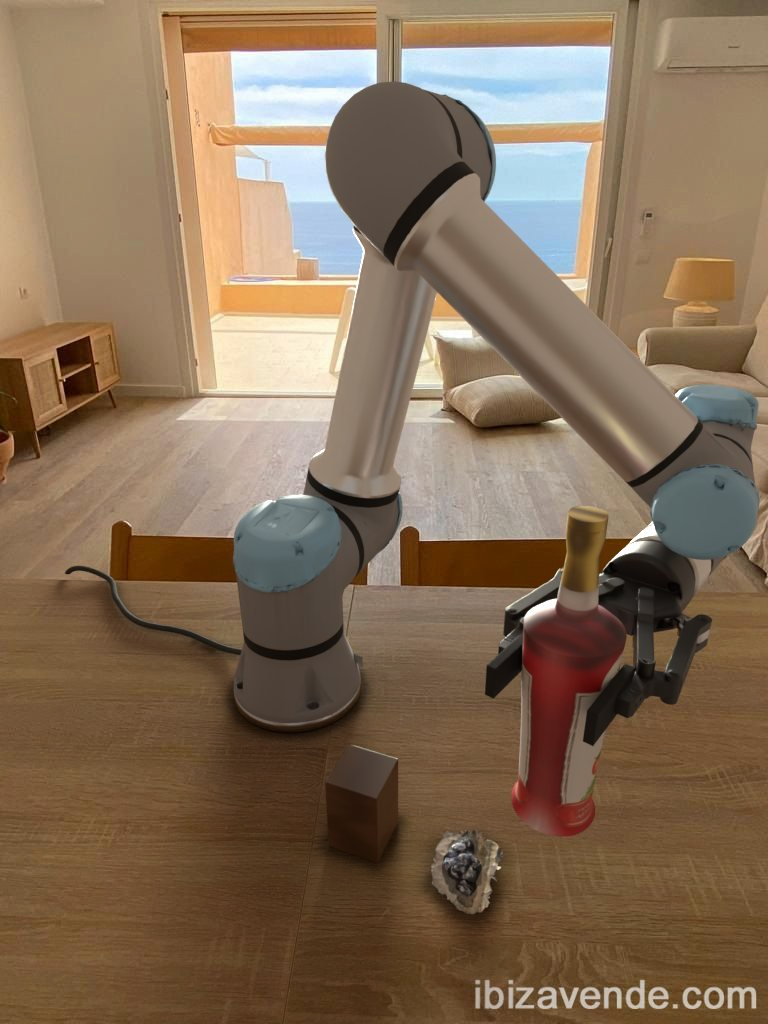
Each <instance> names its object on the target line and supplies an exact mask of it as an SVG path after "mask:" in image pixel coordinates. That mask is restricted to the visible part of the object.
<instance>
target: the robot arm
mask: <svg viewBox="0 0 768 1024" xmlns="http://www.w3.org/2000/svg"><path fill="white" fill-rule="evenodd" d="M496 156H497V154H496V149H495V145H494V141H493V138H492V135H491V133H490V131H489V129H488V127H487V126H486V124H485V122H484V121H483V120H482V118H480V116H479V115H478V114H477V113H476V112H474V111H473V110H472V109H471V108H470V106H468V105H467V104H465V103H464V102H463V101H461V100H460V99H456V98H454V97H451V96H449V95H447V94H445V93H444V94H440V93H437V92H433V91H431V90H428V89H424V88H421V87H419V86H417V85H414V84H412V83H408V82H402V81H397V80H393V81H382V82H377V83H374V84H373V83H372V84H371V85H368V86H366V87H364V88H362V89H361V90H359V91H357V92H356V93H353V95H351V97H350V98H349V99H347V100H346V101H345V103H344V104H343V105H342V106H341V107H340V109H339V110H338V112H337V113H336V115H335V116H334V119H333V121H332V122H331V125H330V128H329V130H328V133H327V137H326V142H325V149H324V169H325V174H326V177H327V178H326V179H327V183H328V187H329V189H330V192H331V193H332V196H333V198H334V199H335V202H336V204H337V206H338V207H339V208H340V209H341V211H342V212H343V214H344V215H345V216H346V217H347V218H348V220H349V221H350V223H352V225H353V226H352V232H353V234H354V236H355V238H356V239H357V241H358V243H359V244H360V246H361V248H362V251H363V252H362V256H361V257H362V258H361V263H360V268H359V272H358V278H357V283H356V288H355V294H354V298H353V302H352V303H353V304H352V308H351V314H350V319H349V324H348V327H347V328H348V329H347V334H346V339H345V343H344V344H345V345H344V349H343V353H342V354H343V355H342V359H341V365H340V370H339V375H338V379H337V385H336V390H335V395H334V400H333V405H332V410H331V416H330V420H329V426H328V432H327V437H326V442H325V447H324V449H323V450H321V451H319V452H317V453H315V454H314V455H313V456H312V457H311V458H310V460H309V463H308V468H307V473H306V477H305V482H304V483H305V484H304V488H303V493H302V494H290V495H283V496H278V497H277V498H276V500H270V499H268V500H266V501H263V502H261V503H259V504H257V505H255V506H254V507H252V508H250V510H248V511H247V512H246V513H244V515H243V516H242V517H241V518H240V520H239V521H238V523H237V525H236V526H235V529H234V533H233V556H232V562H233V567H234V572H235V578H236V583H237V591H238V600H239V601H238V602H239V609H240V610H239V611H240V617H241V626H242V627H241V628H242V634H243V635H242V636H243V642H242V643H243V644H242V647H241V648H239V647H236V646H235V647H234V646H230V645H226V644H223V643H220V642H218V641H216V640H213V639H211V638H209V637H206V636H204V635H202V634H200V633H197V632H195V631H192V630H189V629H186V628H183V627H178V626H173V625H167V624H161V623H154V622H149V621H147V620H143V619H141V618H139V617H137V616H135V615H134V614H132V613H131V612H130V611H129V609H127V607H126V606H125V604H124V603H123V601H122V600H121V598H120V597H119V594H118V587H117V583H116V581H115V579H114V578H113V577H112V576H111V575H109V574H107V573H105V572H103V571H101V570H99V569H96V568H94V567H91V566H86V565H73V566H70V567H69V568H67V569H66V570H65V571H64V575H72V573H73V572H86V573H89V574H91V575H92V574H93V575H95V576H97V577H99V578H101V579H102V580H105V581H106V582H107V583H108V584H109V586H110V593H111V598H112V600H113V601H114V603H115V605H116V606H117V608H118V610H119V611H120V612H121V614H122V615H123V616H124V617H125V618H126V619H127V620H128V621H130V622H131V623H134V624H135V625H137V626H140V627H142V628H144V629H145V628H146V629H150V630H154V631H162V632H168V633H174V634H179V635H181V636H186V637H188V638H191V639H193V640H196V641H198V642H200V643H202V644H204V645H207V646H209V647H211V648H213V649H216V650H219V651H222V652H223V653H224V652H225V653H228V654H232V655H233V654H234V655H238V656H239V659H238V663H237V665H236V670H235V674H234V678H233V695H234V696H233V697H234V701H235V702H234V703H235V705H236V708H237V710H238V712H239V713H240V715H242V717H243V718H245V719H246V720H247V721H248V722H250V723H251V724H253V725H255V726H257V727H260V728H262V729H265V730H269V731H274V732H280V733H300V732H301V733H302V732H309V731H313V730H317V729H320V728H323V727H326V726H328V725H331V724H332V723H334V722H336V721H338V720H339V719H341V718H343V717H344V716H345V715H346V714H347V713H349V712H350V711H351V709H353V707H354V706H355V705H356V703H357V702H358V700H359V697H360V694H361V689H362V683H361V681H362V679H361V677H362V676H361V670H360V666H362V667H363V666H364V659H363V657H362V656H360V655H358V654H356V653H354V652H353V649H352V647H351V645H350V642H349V640H348V638H347V636H346V633H345V628H344V627H345V626H344V602H343V601H344V600H343V599H344V598H343V596H344V592H345V590H346V589H347V587H348V586H349V585H350V584H351V583H352V582H353V581H354V580H355V579H356V578H357V577H358V575H359V574H360V573H361V572H362V571H363V570H364V569H365V568H366V566H368V564H369V563H371V561H372V560H373V559H374V558H375V557H376V556H377V555H378V554H379V553H380V552H382V551H383V550H384V549H385V548H386V547H387V546H388V545H389V544H390V542H391V541H392V540H393V539H394V537H395V535H396V533H397V531H398V529H399V527H400V524H401V521H402V517H403V507H404V506H403V498H402V495H401V493H400V490H401V486H402V476H401V474H400V472H399V471H398V469H397V468H396V467H395V466H394V463H395V460H396V456H397V452H398V448H399V445H400V441H401V437H402V433H403V429H404V424H405V421H406V417H407V414H408V410H409V405H410V401H411V398H412V393H413V389H414V385H415V382H416V377H417V374H418V371H419V370H418V369H419V366H420V361H421V357H422V354H423V350H424V346H425V343H426V338H427V334H428V331H429V327H430V323H431V319H432V315H433V311H434V307H435V304H436V300H437V295H439V296H440V297H441V298H443V300H444V301H445V302H446V303H447V304H448V305H450V307H451V308H452V309H453V310H454V311H455V312H456V313H457V314H458V315H459V316H460V317H461V318H462V319H463V320H464V321H465V322H466V323H467V325H469V326H471V328H472V329H473V330H474V331H475V332H476V333H477V334H478V335H479V336H480V337H481V338H482V339H483V340H484V341H485V343H487V344H488V345H489V346H490V347H491V348H492V349H493V350H494V351H495V352H496V353H497V354H498V355H499V356H500V358H501V359H503V360H504V361H505V362H506V363H507V364H508V365H509V366H510V367H511V368H512V369H513V370H514V371H515V372H516V373H517V374H518V375H519V376H520V377H521V378H522V379H523V380H524V381H525V382H526V383H527V384H528V385H529V387H531V388H532V389H533V390H534V391H535V392H536V394H537V395H538V396H539V397H541V399H543V400H544V402H546V404H548V405H549V406H550V407H551V408H552V410H553V411H554V412H555V413H557V415H558V416H559V417H560V418H562V420H563V421H564V422H565V423H566V424H567V425H568V426H569V427H570V428H571V429H572V430H573V431H574V432H575V433H576V434H577V436H579V437H580V438H581V439H582V440H583V441H584V442H585V443H586V444H587V445H588V446H589V447H590V448H591V449H592V451H594V452H595V453H596V454H597V455H598V456H599V457H600V458H601V460H603V462H605V463H606V464H607V466H609V468H611V469H612V470H613V471H614V472H615V473H616V475H618V476H619V477H620V478H621V479H622V480H623V481H624V482H625V483H626V484H627V485H628V486H629V487H630V488H631V490H632V491H633V492H634V493H635V494H636V495H637V496H638V497H639V498H640V499H641V500H642V501H643V502H644V503H645V504H646V505H647V506H648V507H649V509H650V518H651V522H650V523H649V524H648V526H647V527H646V528H645V529H643V530H642V531H641V532H640V533H639V534H637V535H636V536H635V537H634V538H633V539H632V540H631V541H630V542H629V543H628V544H626V546H625V547H624V548H622V550H621V551H619V552H618V553H617V554H616V555H615V556H614V557H613V558H612V559H611V560H610V561H609V562H608V563H607V564H606V565H605V567H604V568H603V569H602V571H601V572H600V573H599V590H598V605H600V606H602V607H603V608H605V609H606V610H608V611H609V612H610V613H612V614H613V615H614V616H615V617H616V618H617V619H619V620H620V621H621V623H622V624H623V626H624V627H625V630H626V633H627V635H628V636H631V637H632V665H630V664H628V663H624V664H623V665H622V666H621V667H620V670H619V672H618V673H617V674H616V675H615V677H614V678H613V679H612V680H611V681H610V683H609V684H608V685H607V686H606V688H605V689H604V690H603V691H602V693H601V694H600V695H599V696H598V698H597V699H596V700H595V701H594V702H593V704H592V705H591V706H590V707H589V709H588V710H587V715H586V722H585V729H584V736H583V742H585V743H587V744H589V745H591V746H594V744H595V743H596V742H597V740H598V739H599V738H600V736H601V735H602V734H603V732H604V731H605V730H607V729H608V727H609V726H610V725H611V724H612V722H613V720H614V719H615V718H616V717H617V715H619V716H621V717H623V718H625V719H629V718H631V717H634V715H635V714H636V712H637V711H638V710H639V708H640V707H641V706H642V704H643V703H644V701H645V700H647V699H649V698H650V697H657V698H659V700H660V701H661V702H662V703H663V704H666V705H668V706H672V705H673V706H674V705H676V704H677V703H678V701H679V697H680V695H681V692H682V689H683V687H684V684H685V681H686V680H687V676H688V673H689V671H690V668H691V666H692V662H693V660H694V658H695V654H697V653H698V652H700V651H701V650H702V649H704V648H705V647H707V645H708V641H709V636H710V631H711V628H712V623H713V618H712V617H711V616H710V615H707V614H697V615H695V616H693V617H691V616H689V615H686V614H685V613H683V612H684V611H685V609H686V608H687V607H688V605H689V604H690V602H692V600H693V598H695V596H696V595H697V593H698V592H699V591H700V589H701V588H702V587H703V586H704V584H705V583H706V582H707V581H708V580H709V577H710V576H711V575H712V574H713V573H714V571H715V570H716V569H717V568H718V566H720V564H721V563H722V562H723V561H724V560H725V559H727V557H728V556H729V555H731V554H733V553H735V552H737V551H739V549H740V548H742V547H743V546H744V545H745V544H746V543H747V542H748V541H749V540H750V538H751V537H752V535H753V534H754V531H755V529H756V526H757V522H758V512H759V509H760V502H761V501H760V500H761V497H760V492H759V491H758V489H757V484H756V480H755V474H754V464H753V463H754V462H753V455H752V444H753V439H754V434H755V431H756V430H757V429H758V424H757V418H758V413H759V412H758V411H759V406H760V404H759V400H758V399H757V397H756V396H755V395H754V394H753V393H751V392H749V391H746V390H743V389H740V388H738V387H737V388H736V387H731V386H726V385H725V386H724V385H715V384H698V385H697V384H696V385H690V386H687V387H683V388H681V389H679V390H678V391H677V392H676V393H674V392H673V391H672V390H671V389H669V387H667V385H666V384H665V383H663V381H662V380H661V379H660V378H659V377H658V376H657V375H656V374H655V373H654V372H653V371H652V370H651V369H650V368H649V367H648V366H647V365H646V364H645V363H644V362H643V361H642V360H641V359H640V358H639V357H638V356H637V355H636V354H635V353H634V352H633V351H632V350H631V349H630V348H629V346H628V345H627V344H626V343H624V342H623V340H621V339H620V338H619V336H617V335H616V333H614V331H613V330H611V328H610V327H608V325H606V323H605V322H604V321H602V320H601V319H600V318H599V316H597V314H596V313H595V312H594V311H592V309H591V308H590V307H589V306H588V305H587V304H586V303H585V302H584V301H583V300H582V299H581V298H580V297H579V296H578V295H577V294H576V293H575V292H574V291H573V290H572V289H571V288H570V287H569V286H568V285H567V284H566V283H565V282H564V281H563V280H562V279H561V278H560V277H559V276H558V275H557V274H556V273H555V272H554V271H553V270H552V268H550V267H549V266H548V265H547V264H546V263H545V261H543V260H542V258H540V257H539V256H538V255H537V254H536V253H535V251H534V250H533V249H531V247H530V246H529V245H528V244H526V242H525V241H524V240H523V239H522V238H521V237H520V236H519V235H518V234H517V233H515V231H514V230H513V229H512V228H511V227H510V226H509V225H508V224H507V223H506V222H505V221H504V220H503V219H502V218H501V217H500V216H499V215H498V214H497V213H496V212H495V211H494V210H493V209H492V208H491V207H490V206H489V205H488V203H486V200H487V198H488V197H489V195H490V193H491V191H492V188H493V185H494V182H495V177H496V171H497V157H496ZM563 569H564V567H562V568H559V569H557V571H556V573H555V574H554V577H553V578H552V579H550V580H548V581H547V582H545V583H543V584H542V585H540V586H539V587H537V588H536V589H534V590H531V591H530V592H528V594H526V595H524V596H522V597H521V598H519V599H518V600H516V601H514V602H513V603H511V604H509V605H508V606H506V607H505V608H504V618H503V619H504V620H503V633H502V635H503V636H504V638H503V639H502V640H501V641H500V642H499V643H498V651H497V655H496V656H495V657H494V658H493V659H492V660H491V661H490V662H489V663H487V664H486V669H485V671H486V672H485V685H484V686H485V688H484V695H485V696H487V697H489V698H490V699H495V698H496V697H497V696H498V695H499V694H500V693H501V692H502V691H503V690H504V689H505V688H506V687H507V686H508V685H509V684H510V683H511V682H512V681H513V680H514V679H515V678H516V677H517V676H518V675H519V674H520V673H522V652H523V622H524V618H525V615H526V614H527V612H528V611H529V610H531V609H532V608H533V607H535V606H537V605H539V604H542V603H544V602H546V601H549V600H552V599H557V596H558V592H559V587H560V582H561V578H562V573H563ZM675 629H677V632H676V635H677V637H678V638H677V641H676V643H675V645H674V648H673V650H672V653H671V655H670V657H669V659H668V662H667V665H666V667H665V669H664V671H662V670H661V671H660V670H656V665H657V660H655V641H654V639H655V637H654V634H655V633H659V632H665V631H666V632H667V631H671V630H675ZM605 732H606V731H605Z"/></svg>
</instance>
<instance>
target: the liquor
mask: <svg viewBox="0 0 768 1024" xmlns="http://www.w3.org/2000/svg"><path fill="white" fill-rule="evenodd" d="M609 517H610V516H609V513H608V512H607V511H605V509H602V508H599V507H596V506H592V505H578V506H577V505H576V506H573V507H571V508H568V511H567V518H566V526H565V543H566V554H565V560H564V565H563V568H564V569H563V573H562V578H561V582H560V587H559V592H558V596H557V599H552V600H549V601H546V602H544V603H542V604H539V605H537V606H535V607H533V608H532V609H531V610H529V611H528V612H527V614H526V615H525V618H524V622H523V652H522V671H521V677H520V678H521V679H520V680H521V681H520V682H521V683H520V689H521V690H520V701H521V702H520V707H521V708H520V736H519V756H518V757H519V758H518V759H519V760H518V771H517V772H518V774H517V781H516V782H515V783H514V785H513V787H512V789H511V794H510V798H511V799H510V800H511V804H512V805H511V806H512V807H513V810H514V812H515V813H516V815H517V816H518V818H519V819H520V820H521V822H523V823H524V824H525V825H526V826H528V827H529V828H531V829H533V830H534V831H536V832H538V833H541V834H544V835H547V836H551V837H560V838H564V837H572V836H576V835H578V834H581V833H583V832H584V831H586V830H587V829H589V827H590V826H591V825H592V823H593V822H594V819H595V817H596V806H595V805H596V804H595V801H594V798H593V794H594V788H595V785H596V784H595V783H596V778H597V772H598V767H599V763H600V758H601V753H602V752H601V751H602V749H603V744H604V740H605V735H606V730H607V729H606V730H605V731H604V732H603V734H602V735H601V736H600V738H599V739H598V740H597V742H596V743H595V744H594V746H591V745H589V744H587V743H585V742H583V736H584V729H585V722H586V715H587V710H588V709H589V707H590V706H591V705H592V704H593V702H594V701H595V700H596V699H597V698H598V696H599V695H600V694H601V693H602V691H603V690H604V689H605V688H606V686H607V685H608V684H609V683H610V681H611V680H612V679H613V678H614V677H615V675H616V674H617V673H618V672H619V670H620V669H621V666H622V660H623V655H624V651H625V647H626V642H627V637H628V636H627V635H628V634H627V633H626V630H625V627H624V626H623V624H622V623H621V621H620V620H619V619H617V618H616V617H615V616H614V615H613V614H612V613H610V612H609V611H608V610H606V609H605V608H603V607H602V606H600V605H598V590H599V575H600V556H601V553H602V550H603V547H604V544H605V542H606V538H607V531H608V523H609Z"/></svg>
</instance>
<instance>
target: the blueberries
mask: <svg viewBox="0 0 768 1024" xmlns="http://www.w3.org/2000/svg"><path fill="white" fill-rule="evenodd" d="M441 835H442V838H441V839H439V842H438V843H437V845H436V847H435V849H434V851H435V853H436V854H435V856H433V857H432V860H433V862H432V863H431V866H430V868H431V869H430V871H431V878H432V882H431V885H432V886H433V887H434V888H436V889H437V890H438V894H441V895H442V896H444V895H445V897H447V898H446V900H447V901H450V903H452V905H454V906H455V908H456V910H458V911H460V912H463V914H465V915H471V916H472V915H475V914H476V913H483V912H484V910H485V908H488V907H489V904H491V902H490V901H489V899H491V897H490V896H491V894H492V893H493V889H492V887H491V880H492V879H493V880H494V881H496V882H498V881H497V879H496V876H494V875H495V873H496V870H497V871H499V870H500V869H501V868H502V866H498V865H499V864H500V863H501V860H502V859H503V857H504V856H503V853H504V851H503V850H502V848H501V847H500V846H499V844H497V843H496V842H495V841H494V840H493V839H488V836H486V835H484V836H483V833H482V831H480V830H479V829H471V831H468V830H467V829H466V828H465V829H463V830H460V832H458V833H457V834H456V833H455V832H453V830H450V831H449V829H446V831H445V832H443V833H441Z"/></svg>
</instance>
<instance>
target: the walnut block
mask: <svg viewBox="0 0 768 1024" xmlns="http://www.w3.org/2000/svg"><path fill="white" fill-rule="evenodd" d="M324 789H325V791H324V792H325V804H326V806H325V807H326V819H327V820H326V823H327V840H328V846H329V847H331V848H334V849H337V850H339V851H343V852H345V853H347V854H350V855H353V856H356V857H359V858H360V859H361V858H362V859H364V860H366V861H369V862H372V863H376V864H379V862H380V860H381V859H382V857H383V854H384V853H385V850H386V848H387V846H388V844H389V841H390V840H391V838H392V835H393V833H394V831H395V829H396V828H397V825H398V824H399V759H398V758H397V757H394V756H391V755H386V754H383V753H380V752H377V751H374V750H371V749H368V748H363V747H360V746H357V745H353V744H350V743H349V744H348V745H347V747H346V748H345V750H344V751H343V753H342V754H341V756H340V758H339V759H338V761H337V762H336V764H335V765H334V767H333V768H332V769H331V772H330V773H329V775H328V776H327V778H326V780H324Z"/></svg>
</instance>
